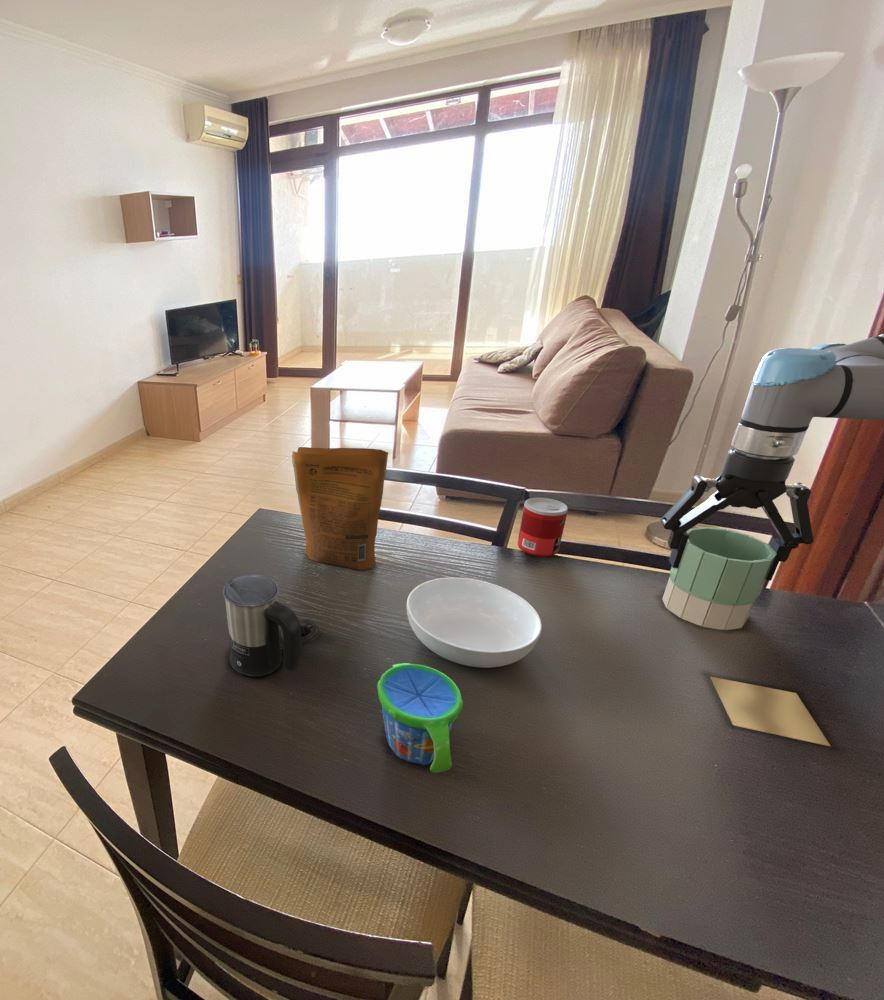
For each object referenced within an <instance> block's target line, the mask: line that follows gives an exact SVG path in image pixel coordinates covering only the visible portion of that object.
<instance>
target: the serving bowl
mask: <svg viewBox="0 0 884 1000" xmlns="http://www.w3.org/2000/svg"><path fill="white" fill-rule="evenodd" d="M406 614H407V615H406V616H407V619H408V622H409V625H410V628H411V630H412V631H413V633H414V635H415V636H416V637H417V638H418V640H419V641H420V642H421V643H422V644H423V646H425V647H426V648H428V649H429V650H430V651H431V652H433V653H434V654H436V655H438V656H439V657H441V658H443V659H445V660H448V661H450V662H453V663H456V664H459V665H463V666H467V667H473V668H482V669H483V668H485V669H486V668H487V669H488V668H498V667H499V668H501V667H504V666H508V665H512V664H513V663H516V662H518V661H520V660H522V659H523V658H524V657H526V656H527V655H528V654H529V653H531V651H532V650H533V649H534V648H535V646H536V644H537V642H538V641H539V639H540V636H541V633H542V630H543V625H542V620H541V617H540V615H539V613H538V612H537V610H536V609H535V608H534V607H533V606H532V605H531V604H530V603H529V602H528V601H527V600H525V598H523V597H522V596H519V595H518V594H516V593H515V592H514V591H511V590H509V589H507V588H505V587H503V586H500V585H497V584H494V583H491V582H488V581H484V580H479V579H475V578H469V577H468V578H467V577H441V578H435V579H431V580H427V581H425V582H422V583H421V584H419V585H417V586H416V587H414V588H413V590H412V591H411V592H410V593H409V594H408V597H407V600H406Z"/></svg>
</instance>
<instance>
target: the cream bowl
mask: <svg viewBox="0 0 884 1000" xmlns="http://www.w3.org/2000/svg"><path fill="white" fill-rule="evenodd" d="M662 602H663V604H664V606H665V609H666V610H668V611H669V612H671V613H672V614H673V615H675V616H677V617H678V618H680V619H682V620H684V621H687V622H689V623H692V624H695V625H697V626H700V627H703V628H707V629H708V628H709V629H715V630H720V631H729V630H736V629H742V628H743V627H744V625H745V624H746V623H747V621H748V619H749V617H750V614H751V612H752V610H753V607H754V605H755V602H753V603H751V604H748V605H741V606H733V605H723V604H717V603H713V602H709V601H705V600H702V599H699V598H697V597H694V596H692V595H690V594H688V593H686V592H684V591H682V590H681V589H679V588H678V587H677V586H675V585H674V584H673V583H672V581H671V579H670V576H669V578H668V581H667V583H666V586H665V589H664V593H663V596H662Z"/></svg>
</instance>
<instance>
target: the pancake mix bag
mask: <svg viewBox="0 0 884 1000" xmlns="http://www.w3.org/2000/svg"><path fill="white" fill-rule="evenodd" d="M388 458H389V452H388V451H385V450H383V449H378V448H363V447H362V448H361V447H330V448H329V447H325V448H324V447H309V446H308V447H307V446H298V447H297V451H296V450H292V453H291V463H292V467H293V472H294V482H295V490H296V494H297V500H298V506H299V511H300V515H301V522H302V529H303V533H304V538H305V542H306V544H305V547H304V554H305V555H306V556H307V557H308V558H309V560H311V561H313V562H315V563H320V564H325V565H329V566H337V567H342V568H348V569H352V570H357V571H365V570H369V569H372V568H375V567H377V561H376V560H377V559H376V548H375V547H376V546H375V545H376V539H377V534H378V524H379V515H380V512H381V507H382V502H383V496H384V486H385V485H384V484H385V479H386V476H387V465H388Z"/></svg>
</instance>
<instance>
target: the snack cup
mask: <svg viewBox="0 0 884 1000" xmlns="http://www.w3.org/2000/svg"><path fill="white" fill-rule="evenodd" d="M376 688H377V694H378V701H379V702H380V704H381V708H382V710H381V711H382V716H383V717H382V718H383V723H384V724H383V725H384V732H385V736H386V741H387V744H388V746H389V747H390V749H391V751H392V752H393V753H394V755H395V756H397V757H398V758H399V759H401V760H404V761H406V762H407V763H408V762H409V763H412V764H416V765H417V764H418V765H423V766H426V765H430V767H429V770H430V772H431V773H436V774H438V773H444V772H447V771H449V770H450V769H451V768H452V766H453V763H452V756H451V746H450V745H451V744H450V742H451V741H450V734H451V730H452V727H453V725H454V723H455V720H457V718H458V717H459V715H460V712H461V711H462V710H463V706H464V701H463V699H462V695H461V691H460V689H459V687H458V685H456V683H455V682H454V681H453V679H451V678H450V677H449V676H447V675H446V674H445V673H443V672H441V671H440V670H437V669H436V668H433V667H430V666H427V665H423V664H417V663H416V664H415V663H408V662H406V663H405V662H403V663H396V664H392V665H391V667H390V668H389V669H387V670H386V671H384V673H383V674H381V676H380V679H379V680H378V681H377V684H376Z"/></svg>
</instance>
